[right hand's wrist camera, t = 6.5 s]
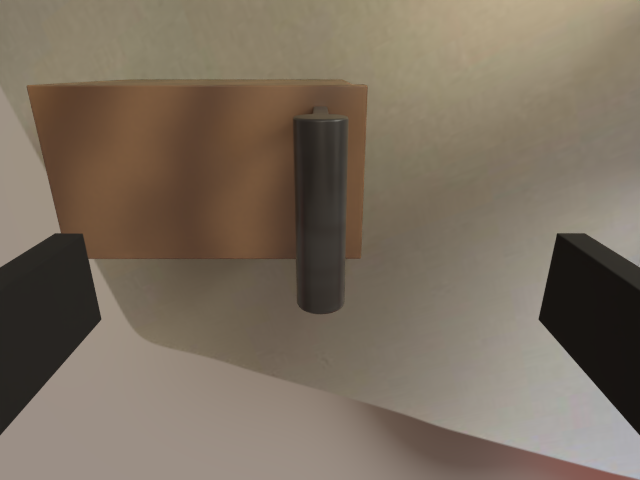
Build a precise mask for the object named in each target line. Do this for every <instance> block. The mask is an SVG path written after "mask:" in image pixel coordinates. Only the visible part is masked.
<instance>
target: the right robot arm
mask: <svg viewBox="0 0 640 480" xmlns="http://www.w3.org/2000/svg"><path fill="white" fill-rule="evenodd" d="M100 320H101V315H100V311H99V306H98V301H97V297H96V292H95V288H94V283H93V278H92V274H91V269H90V264H89V260H88V255H87V250H86V246H85V241H84V237H83V233H60V234H58V233H57V234H54V235H52V236H50V237H49V238H47V239H45V240H44V241H42V242H41V243H39V244H37V245H36V246H34V247H33V248H31V249H29V250H28V251H26V252H25V253H23V254H21V255H20V256H18V257H16V258H15V259H13V260H12V261H10V262H8V263H7V264H5V265H4V266H2V267H0V435H1V434H2V433H3V431H4V430H5V429H6V428H7V427H8V426H9V425H10V423H11V422H12V421H13V420H14V419H15V418H16V417H17V415H18V414H19V413H20V412H21V411H22V410H23V409H24V407H25V406H26V405H27V404H28V403H29V402H30V401H31V399H32V398H33V397H34V396H35V395H36V394H37V393H38V391H39V390H40V389H41V388H42V387H43V386H44V385H45V383H46V382H47V381H48V380H49V379H50V378H51V377H52V375H53V374H54V373H55V372H56V371H57V370H58V368H59V367H60V366H61V365H62V364H63V363H64V362H65V360H66V359H67V358H68V357H69V356H70V355H71V354H72V352H73V351H74V350H75V349H76V348H77V347H78V346H79V344H80V343H81V342H82V341H83V340H84V339H85V338H86V336H87V335H88V334H89V333H90V332H91V331H92V330H93V328H94V327H95V326H96V325H97V324H98V323H99V322H100ZM539 320H540V322H541V323H542V324H543V325H544V326H545V327H546V328H547V330H548V331H549V332H550V333H551V334H552V335H553V336H554V338H555V339H556V340H557V341H558V342H559V343H560V344H561V346H562V347H563V348H564V349H565V350H566V351H567V352H568V354H569V355H570V356H571V357H572V358H573V359H574V360H575V362H576V363H577V364H578V365H579V366H580V367H581V368H582V370H583V371H584V372H585V373H586V374H587V375H588V377H589V378H590V379H591V380H592V381H593V382H594V383H595V385H596V386H597V387H598V388H599V389H600V390H601V391H602V393H603V394H604V395H605V396H606V397H607V398H608V399H609V401H610V402H611V403H612V404H613V405H614V406H615V407H616V409H617V410H618V411H619V412H620V413H621V414H622V415H623V417H624V418H625V419H626V420H627V421H628V422H629V423H630V425H631V426H632V427H633V428H634V429H635V430H636V431H637V433H638V434H639V435H640V267H638V266H636V265H635V264H633V263H632V262H630V261H628V260H627V259H625V258H624V257H622V256H620V255H619V254H617V253H615V252H614V251H612V250H611V249H609V248H607V247H606V246H604V245H603V244H601V243H599V242H598V241H596V240H595V239H593V238H591V237H590V236H588V235H586V234H585V233H557V237H556V241H555V246H554V250H553V255H552V260H551V264H550V269H549V274H548V278H547V283H546V288H545V292H544V297H543V301H542V306H541V311H540V315H539Z"/></svg>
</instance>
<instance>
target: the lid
mask: <svg viewBox="0 0 640 480" xmlns="http://www.w3.org/2000/svg"><path fill="white" fill-rule="evenodd" d="M27 90H28V94H29V99H30V103H31V107H32V111H33V116H34V120H35V124H36V128H37V133H38V137H39V141H40V145H41V150H42V154H43V158H44V162H45V167H46V171H47V175H48V179H49V184H50V188H51V192H52V196H53V201H54V205H55V209H56V213H57V218H58V222H59V226H60V230H61V233H83V237H84V241H85V246H86V250H87V255H88V259H296V278H297V304H298V306H299V307H300V308H301V309H302V310H304V311H306V312H309V313H313V314H328V313H332V312H335V311H337V310H339V309H340V308H341V307H342V306H343V304H344V292H345V259H360V258H361V245H362V218H363V192H364V166H365V140H366V114H367V85H364V84H250V85H28V86H27Z"/></svg>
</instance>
